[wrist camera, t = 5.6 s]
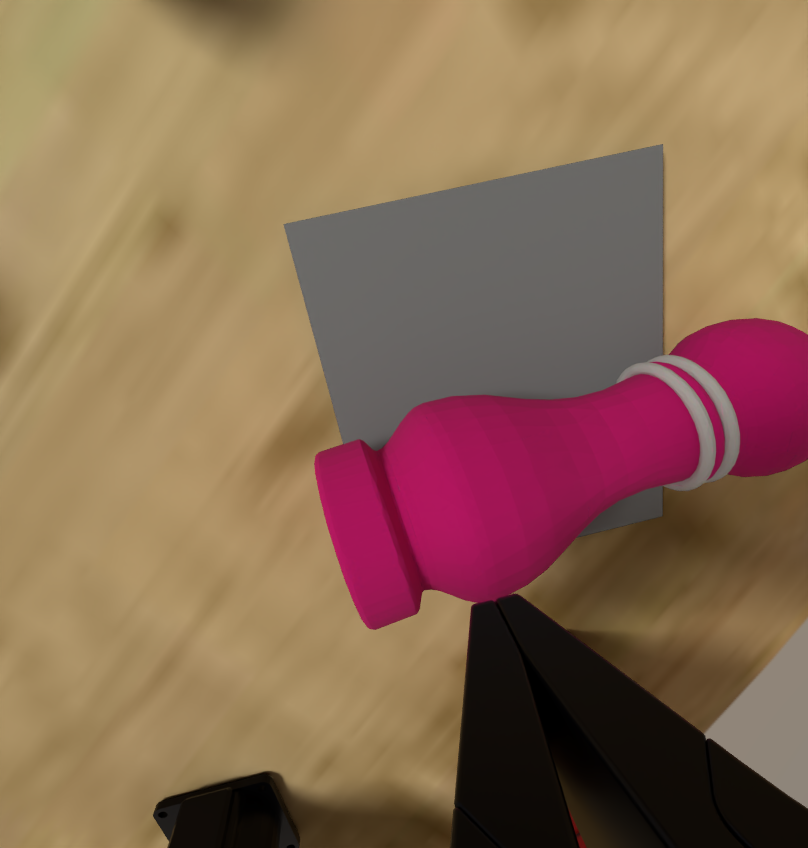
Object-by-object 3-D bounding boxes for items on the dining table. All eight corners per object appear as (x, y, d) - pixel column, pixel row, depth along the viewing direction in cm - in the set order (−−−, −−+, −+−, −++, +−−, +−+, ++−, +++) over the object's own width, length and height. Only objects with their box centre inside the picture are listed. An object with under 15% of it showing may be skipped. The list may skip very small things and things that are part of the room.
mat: (654, 509, 23) (662, 516, 22) (381, 577, 22) (382, 586, 21) (652, 148, 17) (663, 143, 16) (285, 225, 16) (283, 224, 16)
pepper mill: (364, 668, 11) (1015, 416, 13) (290, 410, 13) (858, 228, 15) (380, 634, 18) (808, 471, 20) (330, 467, 20) (719, 335, 22)
